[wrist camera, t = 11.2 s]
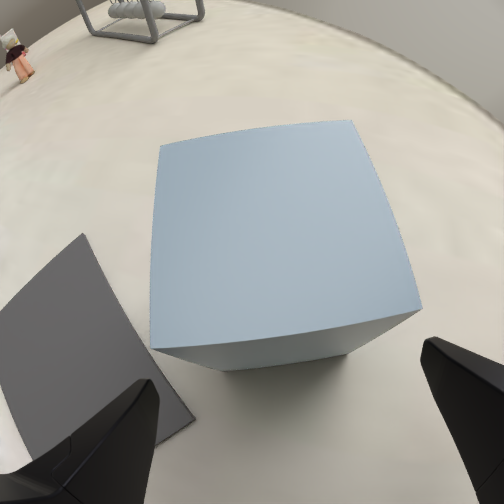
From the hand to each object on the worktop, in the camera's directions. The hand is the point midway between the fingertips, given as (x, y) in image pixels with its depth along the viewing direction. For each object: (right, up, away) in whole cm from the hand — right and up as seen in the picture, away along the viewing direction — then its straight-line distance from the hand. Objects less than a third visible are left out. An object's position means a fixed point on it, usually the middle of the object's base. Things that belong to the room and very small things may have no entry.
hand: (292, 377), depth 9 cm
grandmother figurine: (-50, +42, +35) cm, 74 cm away
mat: (-15, -4, +8) cm, 18 cm away
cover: (0, +1, +9) cm, 9 cm away
